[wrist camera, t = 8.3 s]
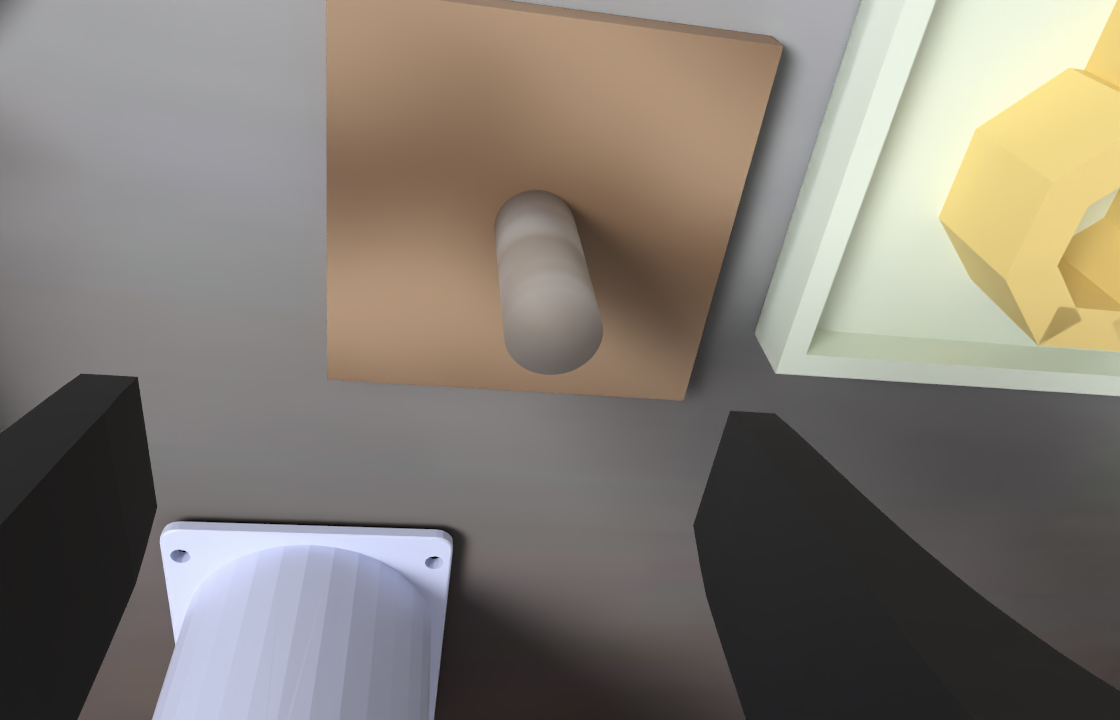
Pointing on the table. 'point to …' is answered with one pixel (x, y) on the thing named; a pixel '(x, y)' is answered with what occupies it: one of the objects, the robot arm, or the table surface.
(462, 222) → the tan square peg base
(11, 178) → the table surface
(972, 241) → the ring
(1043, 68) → the tray
